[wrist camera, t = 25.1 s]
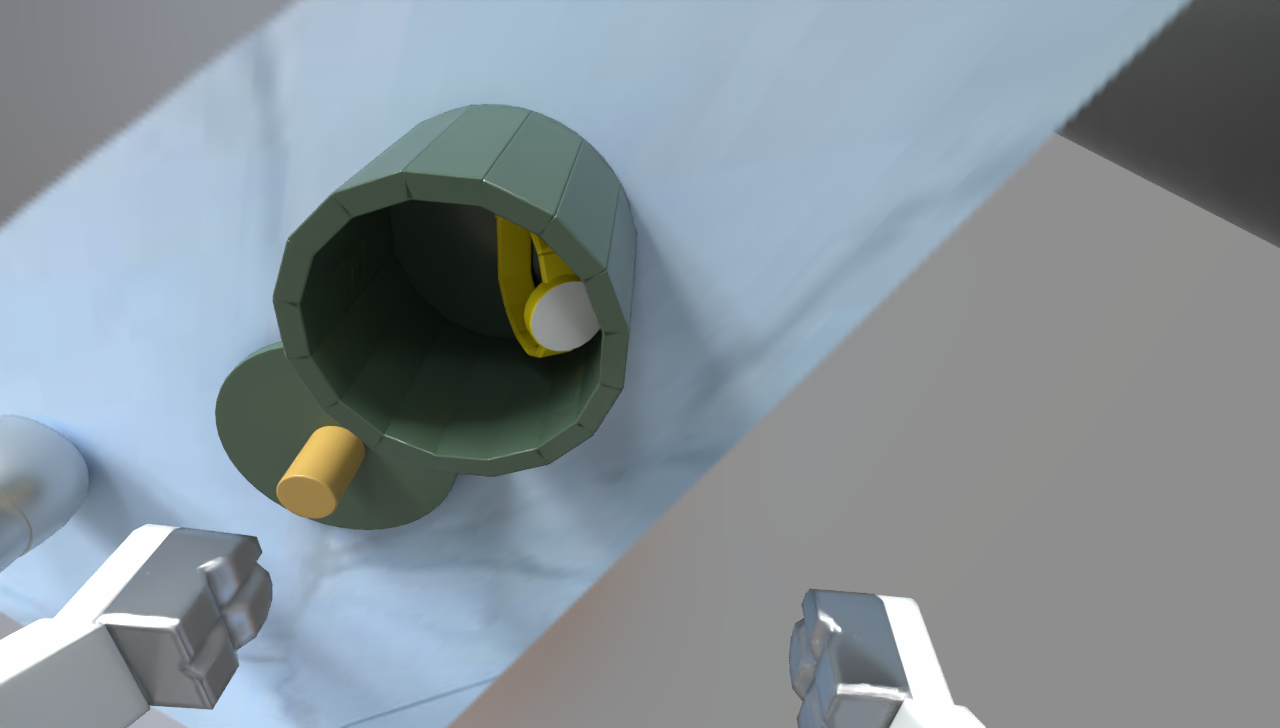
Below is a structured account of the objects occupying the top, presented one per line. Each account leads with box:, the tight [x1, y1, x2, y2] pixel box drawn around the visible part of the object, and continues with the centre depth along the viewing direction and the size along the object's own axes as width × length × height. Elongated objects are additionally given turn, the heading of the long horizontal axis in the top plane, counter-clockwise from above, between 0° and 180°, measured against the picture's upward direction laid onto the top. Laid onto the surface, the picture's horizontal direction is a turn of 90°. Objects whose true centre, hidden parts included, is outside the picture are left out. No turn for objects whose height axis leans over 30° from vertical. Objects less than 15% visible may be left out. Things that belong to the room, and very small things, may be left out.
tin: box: [273, 104, 637, 477], centre depth 24 cm, size 11×11×8 cm
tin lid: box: [215, 342, 457, 530], centre depth 31 cm, size 11×11×5 cm
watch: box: [495, 214, 600, 358], centre depth 25 cm, size 6×3×6 cm
